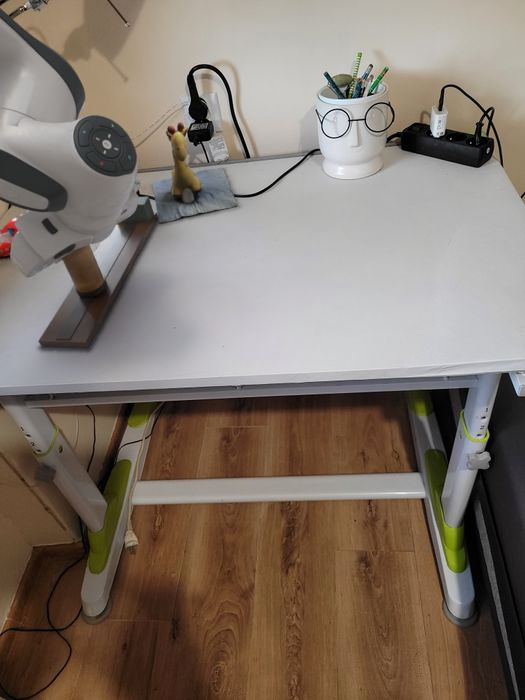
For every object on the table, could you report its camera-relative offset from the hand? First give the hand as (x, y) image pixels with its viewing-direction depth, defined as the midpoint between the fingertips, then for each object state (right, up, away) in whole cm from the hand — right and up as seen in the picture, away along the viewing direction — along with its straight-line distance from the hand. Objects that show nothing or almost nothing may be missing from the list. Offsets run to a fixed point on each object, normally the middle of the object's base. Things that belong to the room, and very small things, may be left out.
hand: (72, 248), depth 81 cm
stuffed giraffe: (+16, +17, +27) cm, 36 cm away
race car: (-18, +6, +22) cm, 29 cm away
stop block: (+5, +9, +21) cm, 24 cm away
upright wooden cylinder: (+1, -6, +5) cm, 8 cm away
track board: (+3, -3, +10) cm, 11 cm away
